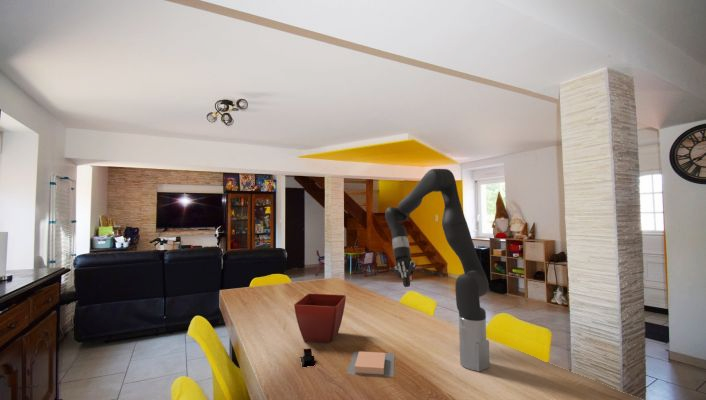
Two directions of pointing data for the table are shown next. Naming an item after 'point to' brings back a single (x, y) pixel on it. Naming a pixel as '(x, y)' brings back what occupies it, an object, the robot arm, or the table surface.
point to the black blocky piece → (307, 358)
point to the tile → (370, 363)
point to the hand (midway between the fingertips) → (407, 286)
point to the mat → (387, 373)
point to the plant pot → (320, 316)
